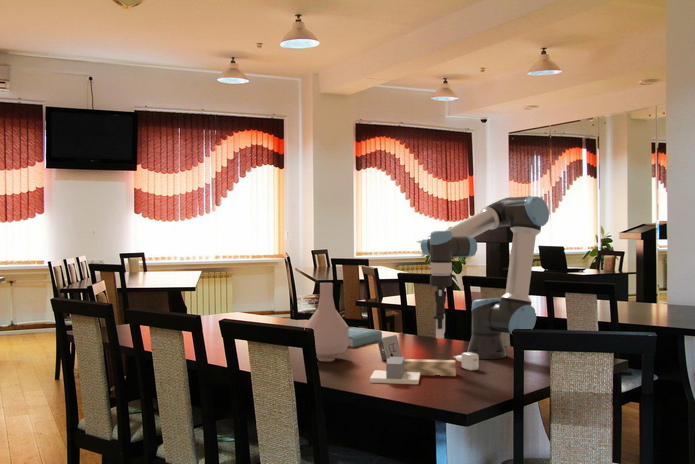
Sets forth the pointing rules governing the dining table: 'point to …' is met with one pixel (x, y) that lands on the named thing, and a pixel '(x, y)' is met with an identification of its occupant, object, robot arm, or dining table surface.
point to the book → (363, 336)
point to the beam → (431, 367)
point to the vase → (328, 326)
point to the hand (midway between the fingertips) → (440, 335)
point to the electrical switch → (389, 347)
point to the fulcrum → (395, 373)
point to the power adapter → (468, 360)
